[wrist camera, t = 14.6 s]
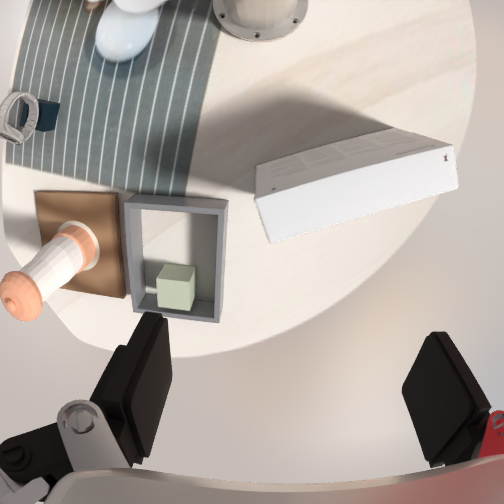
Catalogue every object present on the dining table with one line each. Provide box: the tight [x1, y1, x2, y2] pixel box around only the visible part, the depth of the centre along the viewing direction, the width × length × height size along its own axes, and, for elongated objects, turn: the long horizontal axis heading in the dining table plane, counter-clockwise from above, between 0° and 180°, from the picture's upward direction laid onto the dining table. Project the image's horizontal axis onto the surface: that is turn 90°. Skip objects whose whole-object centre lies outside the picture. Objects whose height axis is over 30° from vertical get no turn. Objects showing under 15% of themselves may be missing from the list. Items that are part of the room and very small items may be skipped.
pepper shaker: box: [0, 225, 95, 321], centre depth 40 cm, size 7×7×19 cm
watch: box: [0, 91, 60, 145], centre depth 35 cm, size 6×8×11 cm
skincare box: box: [254, 128, 458, 243], centre depth 36 cm, size 21×5×16 cm, turn 109°
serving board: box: [35, 191, 126, 299], centre depth 49 cm, size 18×16×1 cm
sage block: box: [156, 263, 196, 311], centre depth 49 cm, size 5×5×5 cm
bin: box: [124, 194, 229, 323], centre depth 47 cm, size 18×14×4 cm
